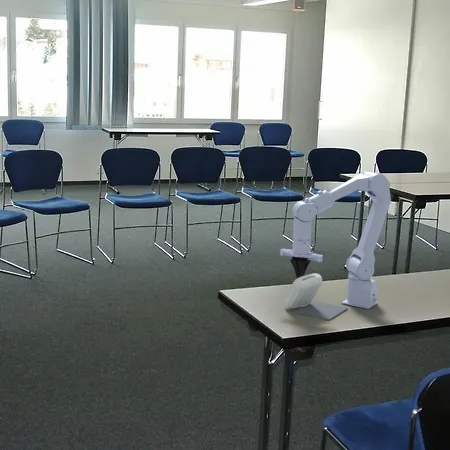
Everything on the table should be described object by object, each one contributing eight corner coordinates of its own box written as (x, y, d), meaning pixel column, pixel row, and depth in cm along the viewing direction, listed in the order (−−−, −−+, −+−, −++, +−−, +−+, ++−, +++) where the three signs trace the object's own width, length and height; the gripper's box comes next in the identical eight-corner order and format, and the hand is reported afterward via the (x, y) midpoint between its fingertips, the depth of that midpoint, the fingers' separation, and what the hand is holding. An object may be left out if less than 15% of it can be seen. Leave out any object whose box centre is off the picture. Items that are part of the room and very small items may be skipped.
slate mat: (347, 309, 220) (347, 307, 220) (329, 320, 208) (329, 319, 208) (314, 302, 226) (314, 300, 226) (294, 312, 215) (294, 311, 215)
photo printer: (305, 293, 225) (319, 268, 217) (312, 303, 223) (326, 278, 215) (281, 300, 220) (294, 275, 212) (288, 310, 217) (302, 285, 210)
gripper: (276, 238, 218) (274, 278, 221) (316, 244, 210) (314, 286, 213) (286, 234, 224) (284, 274, 226) (326, 240, 216) (324, 281, 218)
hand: (299, 279), depth 220 cm, fingers closed
